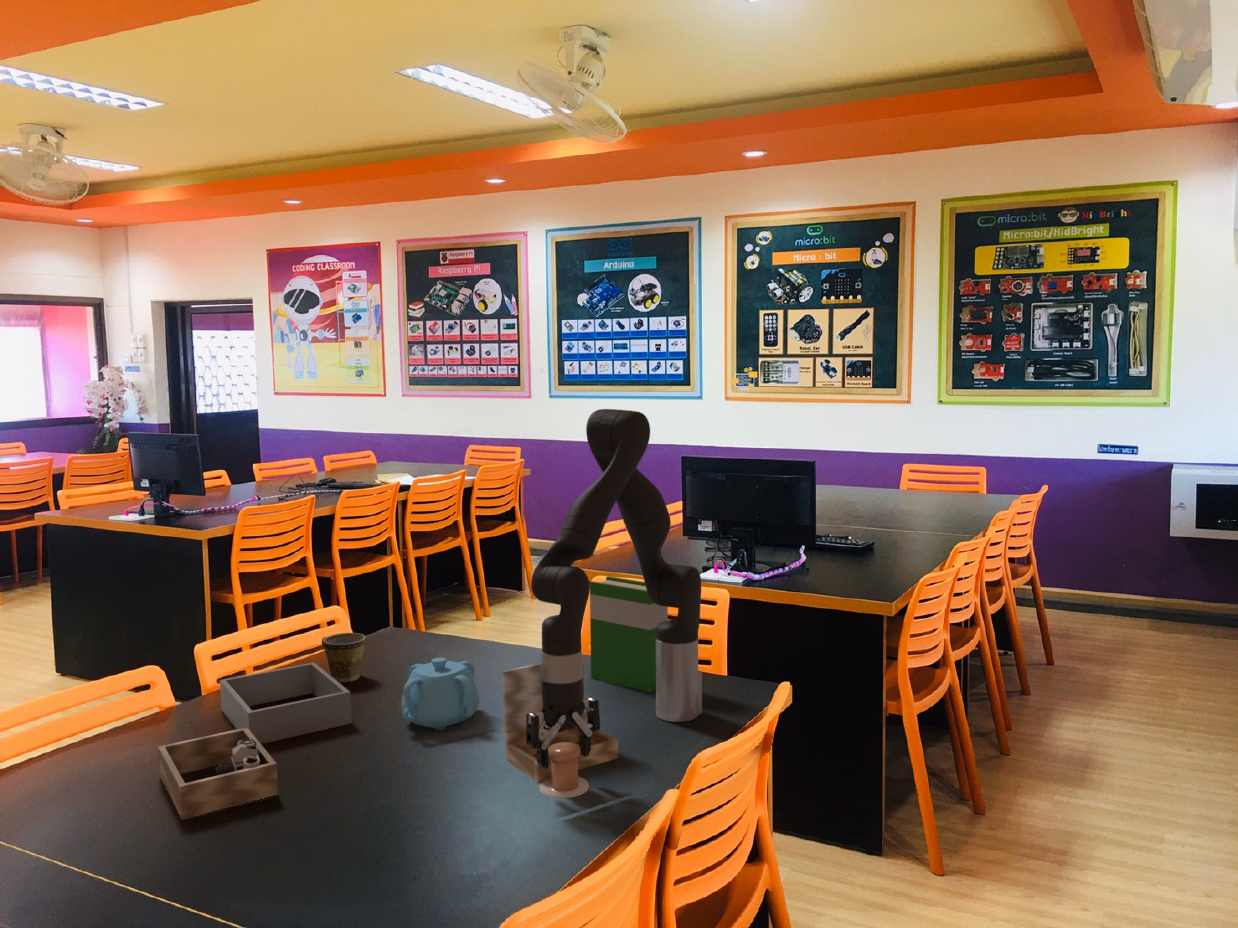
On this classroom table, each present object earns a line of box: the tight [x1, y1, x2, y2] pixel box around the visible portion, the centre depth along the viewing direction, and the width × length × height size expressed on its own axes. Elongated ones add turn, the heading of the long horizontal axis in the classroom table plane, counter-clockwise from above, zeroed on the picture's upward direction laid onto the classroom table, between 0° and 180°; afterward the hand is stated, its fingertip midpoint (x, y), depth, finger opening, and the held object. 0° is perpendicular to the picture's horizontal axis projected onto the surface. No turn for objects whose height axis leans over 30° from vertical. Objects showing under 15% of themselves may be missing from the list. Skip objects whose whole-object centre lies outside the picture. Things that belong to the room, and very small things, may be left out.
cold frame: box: [502, 653, 619, 783], centre depth 184 cm, size 18×14×18 cm
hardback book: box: [589, 575, 669, 693], centre depth 229 cm, size 18×7×24 cm, turn 53°
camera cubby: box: [157, 727, 279, 821], centre depth 175 cm, size 16×21×6 cm
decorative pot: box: [400, 657, 480, 731], centre depth 206 cm, size 16×16×14 cm
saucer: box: [538, 776, 590, 799], centre depth 173 cm, size 9×9×1 cm
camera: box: [214, 738, 260, 776], centre depth 174 cm, size 13×8×9 cm, turn 30°
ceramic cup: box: [321, 632, 366, 683], centre depth 235 cm, size 13×10×10 cm
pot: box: [548, 742, 580, 792], centre depth 172 cm, size 6×6×7 cm
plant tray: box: [219, 662, 353, 745], centre depth 209 cm, size 21×25×7 cm
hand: (564, 761), depth 172 cm, fingers open, 8 cm apart
